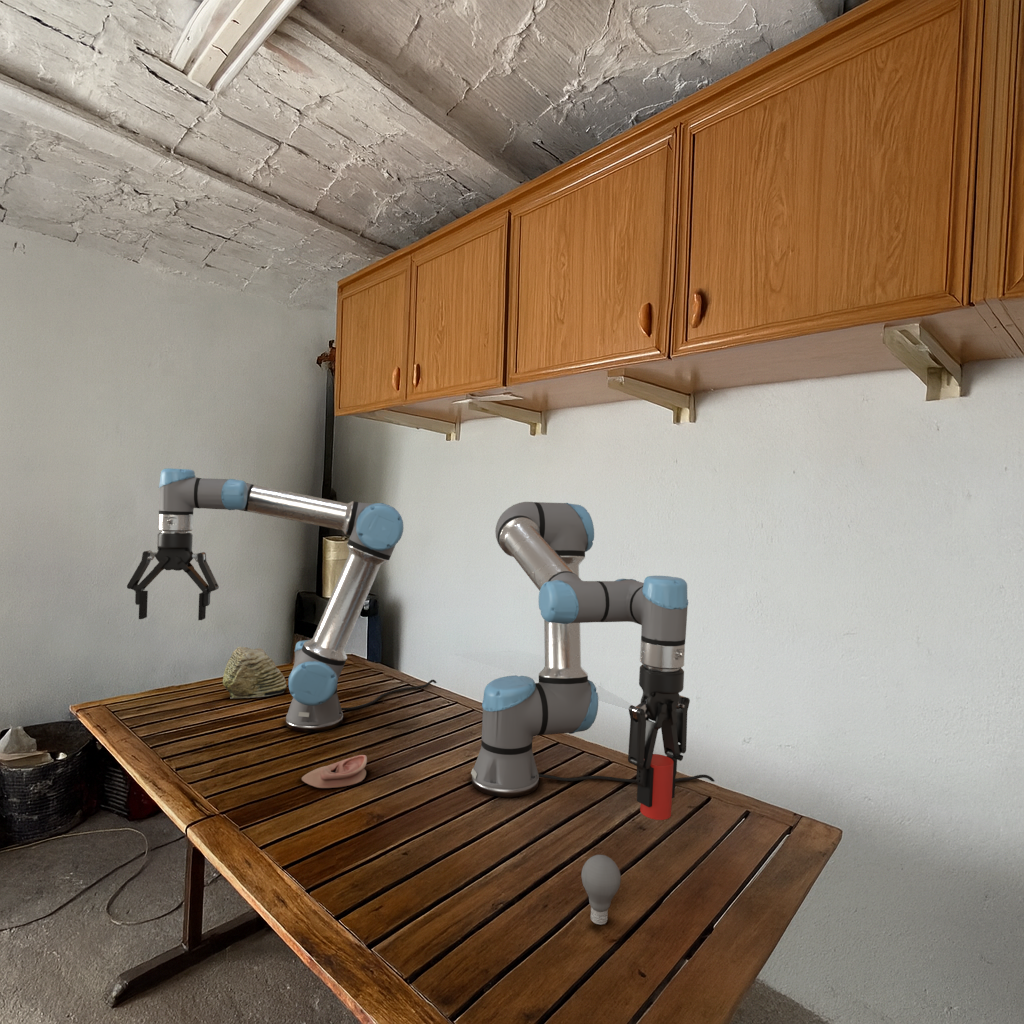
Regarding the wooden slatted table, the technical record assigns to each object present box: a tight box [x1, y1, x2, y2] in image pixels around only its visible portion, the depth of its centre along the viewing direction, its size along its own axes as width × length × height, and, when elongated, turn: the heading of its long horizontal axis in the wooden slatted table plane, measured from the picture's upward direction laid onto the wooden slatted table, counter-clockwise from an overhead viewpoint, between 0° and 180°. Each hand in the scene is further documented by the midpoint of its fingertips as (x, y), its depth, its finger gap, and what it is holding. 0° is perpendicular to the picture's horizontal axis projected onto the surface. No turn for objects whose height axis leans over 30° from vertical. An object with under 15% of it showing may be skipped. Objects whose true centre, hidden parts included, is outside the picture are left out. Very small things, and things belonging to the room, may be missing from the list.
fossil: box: [222, 646, 288, 699], centre depth 198 cm, size 9×18×15 cm, turn 132°
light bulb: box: [580, 854, 622, 926], centre depth 97 cm, size 6×6×10 cm
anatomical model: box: [301, 754, 368, 789], centre depth 143 cm, size 13×4×12 cm
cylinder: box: [639, 753, 674, 821], centre depth 110 cm, size 5×5×9 cm
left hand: (172, 618), depth 155 cm, fingers open, 13 cm apart
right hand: (655, 799), depth 110 cm, fingers closed on cylinder, 5 cm apart
